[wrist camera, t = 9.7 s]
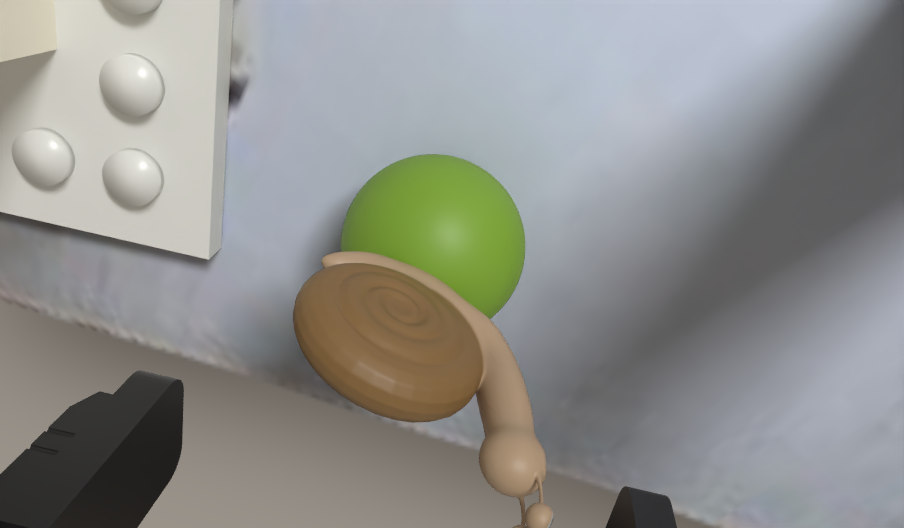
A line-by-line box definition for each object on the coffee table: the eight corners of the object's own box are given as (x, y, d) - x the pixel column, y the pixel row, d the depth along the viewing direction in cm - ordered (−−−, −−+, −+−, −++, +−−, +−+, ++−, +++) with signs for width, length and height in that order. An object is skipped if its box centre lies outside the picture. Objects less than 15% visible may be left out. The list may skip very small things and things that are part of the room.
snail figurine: (501, 325, 24) (472, 630, 14) (339, 240, 24) (173, 491, 13) (584, 199, 22) (628, 447, 11) (407, 102, 21) (273, 267, 11)
